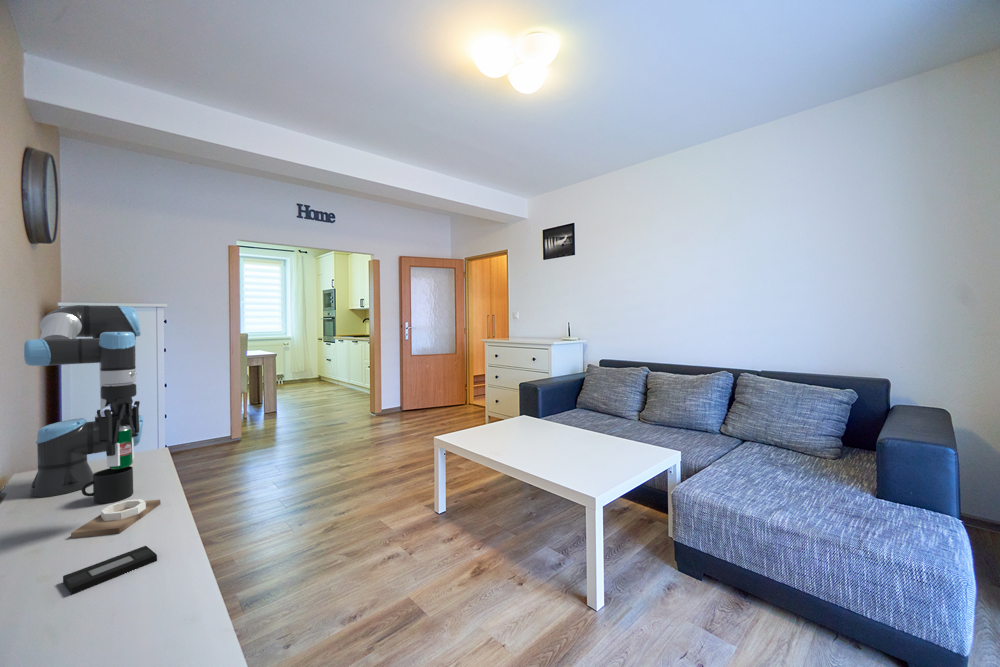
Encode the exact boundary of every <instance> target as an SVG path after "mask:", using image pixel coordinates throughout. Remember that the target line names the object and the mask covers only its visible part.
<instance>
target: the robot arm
mask: <svg viewBox="0 0 1000 667" xmlns="http://www.w3.org/2000/svg"><path fill="white" fill-rule="evenodd" d="M138 317H139V316H138V313H137V311H136V309H135V307H132V306H124V305H90V304H89V305H85V304H79V305H78V304H77V305H74V304H73V305H68V306H64V307H61V308H60V307H59V308H57V309H55V310H53V311H51V312H48V313H47V314H46V315H44V316H43V317H42V318H41V321H40V323H39V329H40V331H41V334H40V336H39V338H35V339H34V338H33V339H28V340H25V342H24V344H23V358H24V363H25V364H26V365H28V366H31V367H34V366H35V367H37V366H38V367H39V366H42V367H47V366H48V367H49V366H63V365H78V364H79V365H80V364H98V365H99V396H100V398H99V399H100V403H99V404H100V409H97V410H96V414H95V416H94V420H93V421H88V420H87V419H86V418H82V417H80V418H72V419H67V420H62V421H57V422H54V423H50V424H47V425H45V426H42V427H40V429H38V430H37V435H36V436H37V437H36V442H35V443H36V444H37V472H36V475H35V477H34V479H33V481H32V484H31V487H30V496H31V497H34V498H44V497H45V498H46V497H53V496H59V495H65V494H69V493H73V492H75V491H80V490H82V488H83V486H84V485H85V484H87V483H89V482H91V481H93V474H94V472H93V470H92V468H91V467H90V465H89V462H88V455H92V454H98V453H99V454H100V453H105V454H106V467H107V468H109V467H112V466H119V465H120V444H119V443H117V439H118V432H119V426H120V425H130V427H131V428H132V458H133V460H134V459H135V453H134V452H135V448H134V447H136V446H138V445H139V444H140V441H141V438H142V433H143V424H144V416H143V415H141V414H139V413H140V412H139V408H140V403H141V402H140V401H139V400H136V401H135V400H133V397H136V396H137V384H136V383H135V382H137V377H136V376H137V372H136V369H137V366H136V344H137V342H136V341H137V340H136V339H137V337H140V336H141V335H142V334H141V327H140V326H141V325H140V321H139V318H138ZM90 486H91V485H89V486H87V487H86V488H88V487H90Z"/></svg>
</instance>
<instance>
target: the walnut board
mask: <svg viewBox="0 0 1000 667" xmlns="http://www.w3.org/2000/svg"><path fill="white" fill-rule="evenodd" d="M144 501H145V502H146V509H144V510H143V511H142V512H140V513H139V514H137V515H134V516H130V517H127V518H124V519H120V520H111V521H104V520H103V519H102V518H101V514H99V515H98V516H96V517H95V518H92V519H91V520H90V521H88V522H87V523H85V524H83V525H81V526H80V527H78V528H76V529H74V530H73V531H72V532H70V538H71V539H76V538H77V539H78V538H87V537H98V536H106V535H107V536H108V535H116V534H117V535H119V534H121V533H122V532H123V531H125V530H127V529H128V528H129V527H131V526H133V524H135V523H136V522H138V521H139V520H140V519H141V518H143V517H145V516H146V515H147V514H148V513H150V512H152V511H154V510H155V509H156V508H157V507H159V506H160V505H161V499H151V500H149V499H148V500H144ZM133 508H134V507H133ZM127 509H130V508H125V509H122V510H118V511H124V510H127ZM118 511H115V512H118Z"/></svg>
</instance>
